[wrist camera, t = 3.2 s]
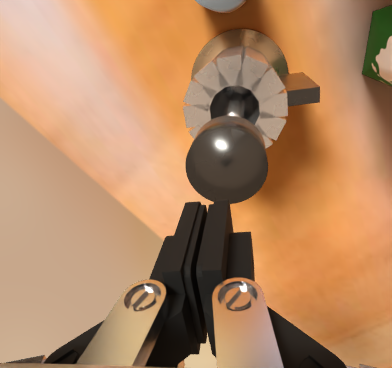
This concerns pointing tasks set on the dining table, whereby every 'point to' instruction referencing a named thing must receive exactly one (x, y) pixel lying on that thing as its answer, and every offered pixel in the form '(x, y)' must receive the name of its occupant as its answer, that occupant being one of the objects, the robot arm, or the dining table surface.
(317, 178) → the dining table surface
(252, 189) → the plunger
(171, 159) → the dining table surface
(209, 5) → the pale blue egg
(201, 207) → the robot arm
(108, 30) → the dining table surface
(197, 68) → the cafetiere
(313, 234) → the dining table surface
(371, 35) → the milk carton
